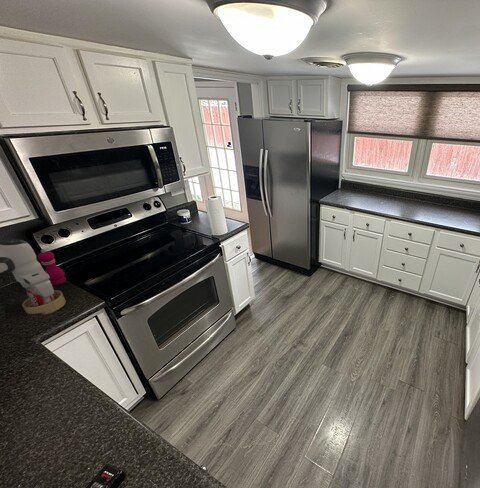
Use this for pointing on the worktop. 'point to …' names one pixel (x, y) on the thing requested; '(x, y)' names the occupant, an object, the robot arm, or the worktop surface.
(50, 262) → the pepper mill
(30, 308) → the beige oval piece
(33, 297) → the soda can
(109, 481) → the worktop surface
